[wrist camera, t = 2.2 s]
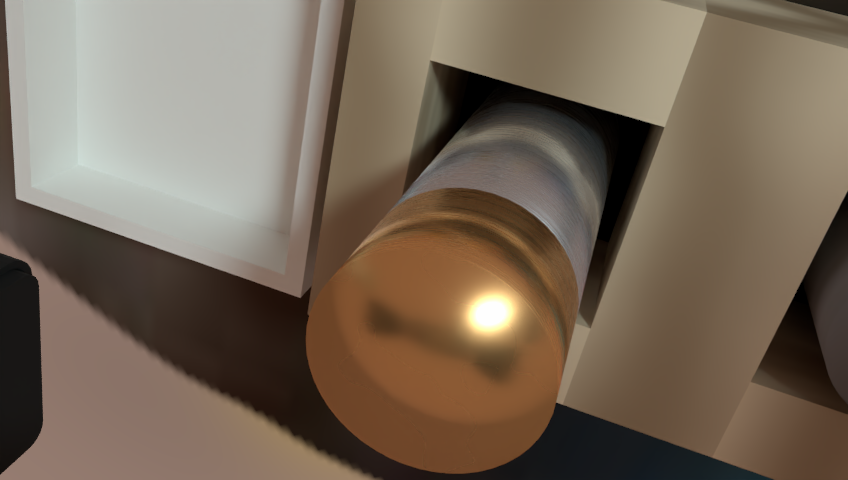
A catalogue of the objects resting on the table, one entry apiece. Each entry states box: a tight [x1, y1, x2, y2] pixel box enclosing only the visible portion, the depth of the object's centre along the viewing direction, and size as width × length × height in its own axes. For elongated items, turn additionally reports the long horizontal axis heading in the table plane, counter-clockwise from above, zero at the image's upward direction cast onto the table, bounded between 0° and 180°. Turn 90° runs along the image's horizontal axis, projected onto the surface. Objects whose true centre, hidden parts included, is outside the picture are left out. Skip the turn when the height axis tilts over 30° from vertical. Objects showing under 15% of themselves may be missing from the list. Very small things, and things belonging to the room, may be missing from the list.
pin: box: [306, 81, 620, 474], centre depth 17 cm, size 4×4×12 cm
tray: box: [5, 0, 356, 298], centre depth 23 cm, size 10×12×3 cm
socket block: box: [307, 0, 848, 480], centre depth 19 cm, size 18×10×6 cm, turn 78°
